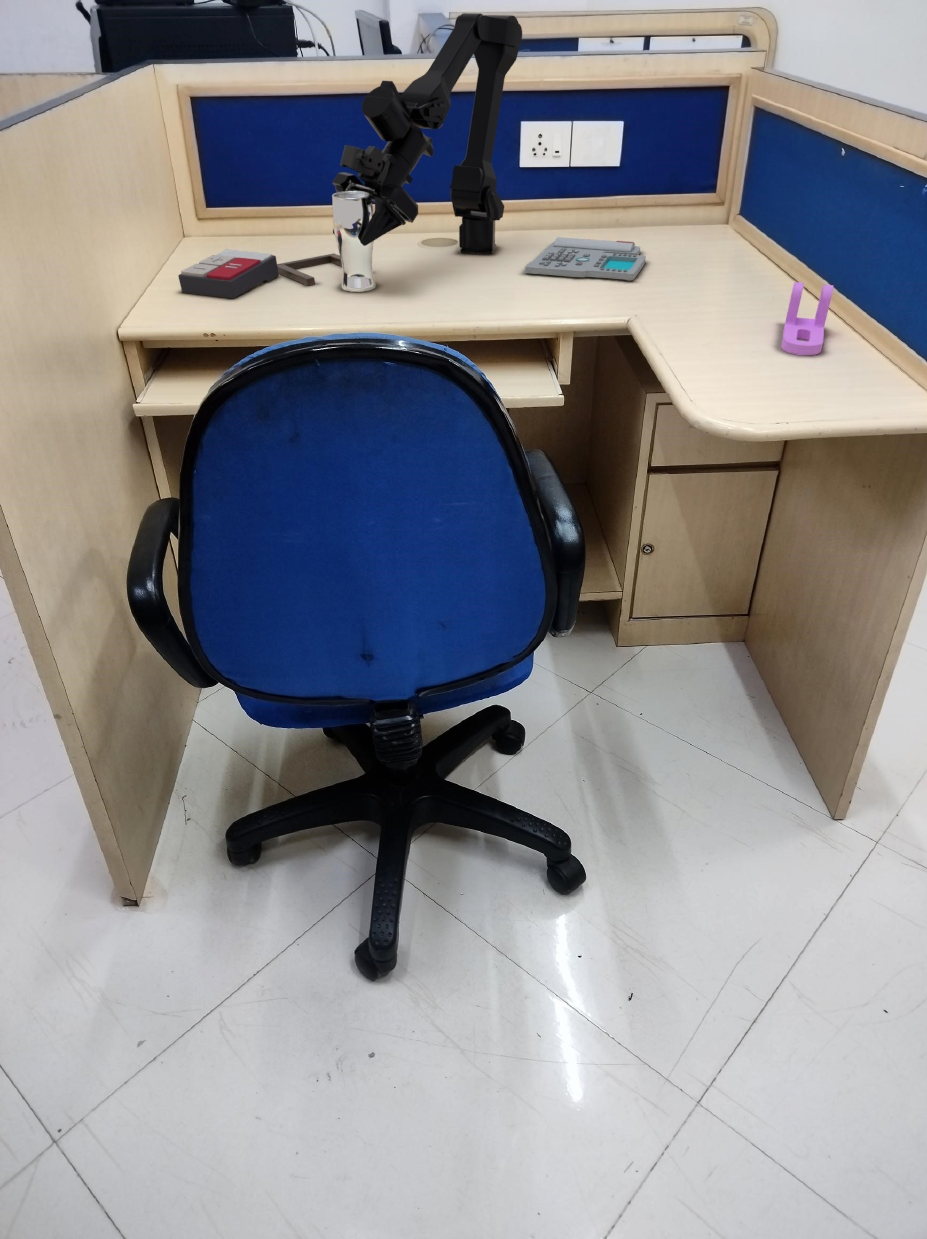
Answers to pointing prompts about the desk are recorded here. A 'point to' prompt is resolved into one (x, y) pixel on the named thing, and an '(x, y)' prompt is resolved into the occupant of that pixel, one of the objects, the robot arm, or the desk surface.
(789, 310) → the bracket
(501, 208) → the robot arm
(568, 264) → the office telephone
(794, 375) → the desk surface
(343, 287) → the beer glass
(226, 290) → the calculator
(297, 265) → the frame
